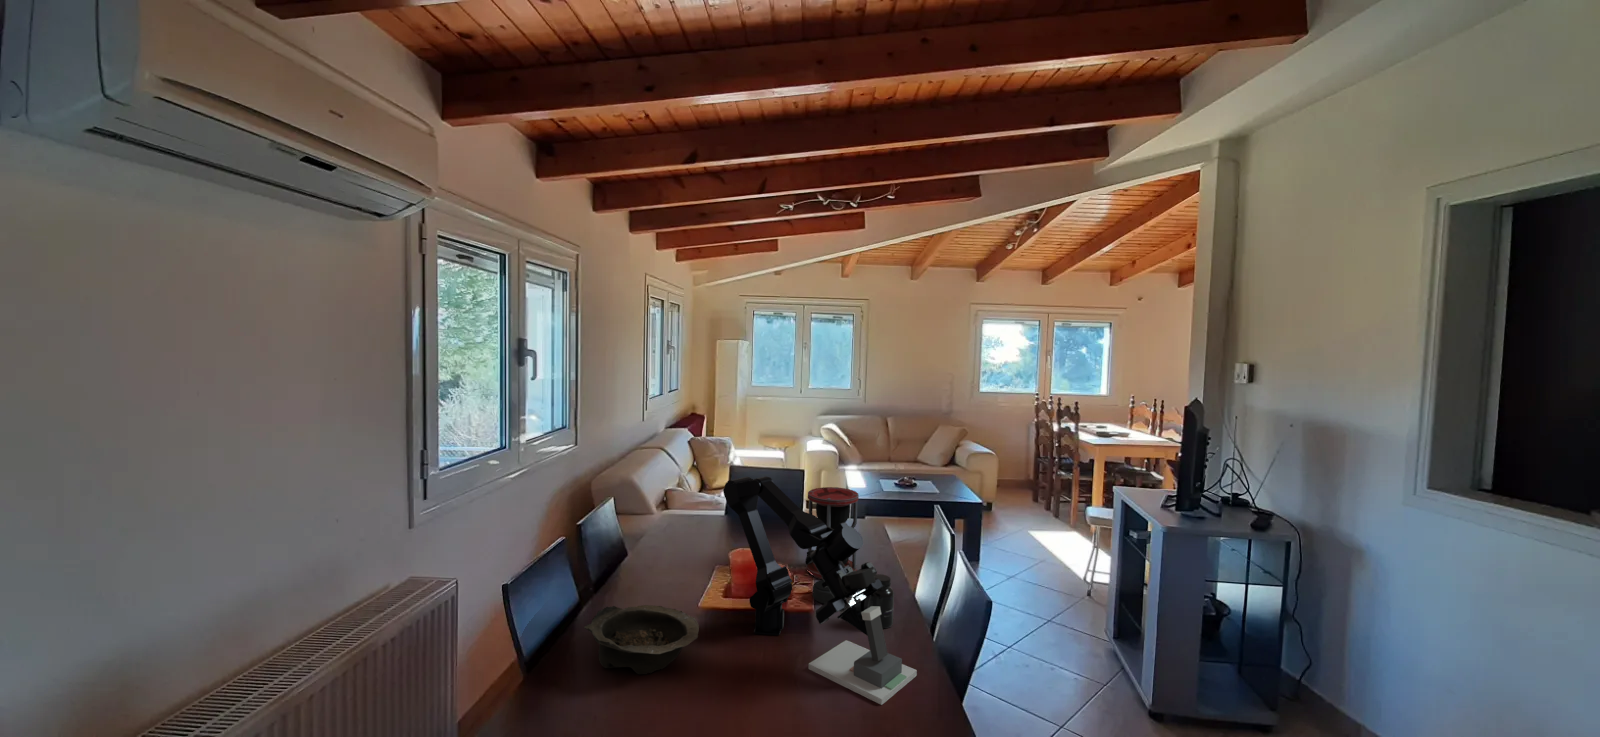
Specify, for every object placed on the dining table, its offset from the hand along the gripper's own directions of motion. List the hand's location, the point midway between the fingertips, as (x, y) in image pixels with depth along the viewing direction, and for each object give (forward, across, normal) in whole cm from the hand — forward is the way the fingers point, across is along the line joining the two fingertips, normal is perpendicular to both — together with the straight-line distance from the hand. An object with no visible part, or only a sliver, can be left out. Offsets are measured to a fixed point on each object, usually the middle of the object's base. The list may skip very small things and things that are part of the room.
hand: (871, 635), depth 126 cm
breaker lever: (+4, 0, +1) cm, 5 cm away
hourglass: (-23, +41, +37) cm, 59 cm away
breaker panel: (+5, 0, +8) cm, 9 cm away
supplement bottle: (-2, +22, +15) cm, 27 cm away
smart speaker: (-15, +24, +29) cm, 40 cm away
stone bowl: (-23, -28, +37) cm, 52 cm away
